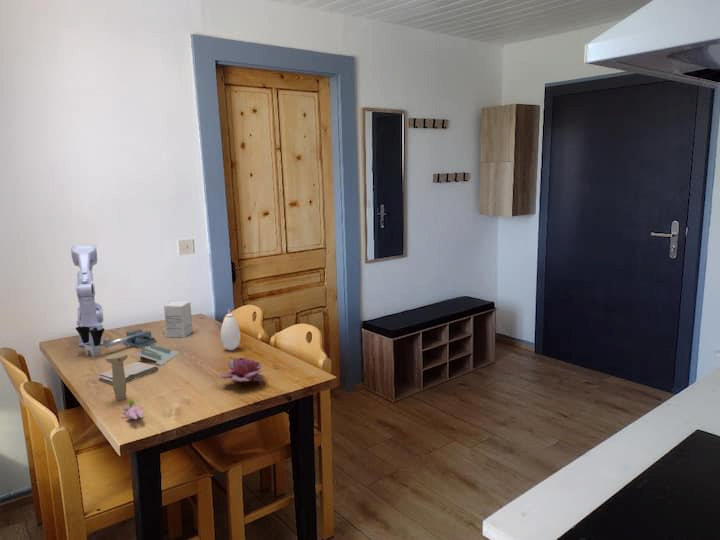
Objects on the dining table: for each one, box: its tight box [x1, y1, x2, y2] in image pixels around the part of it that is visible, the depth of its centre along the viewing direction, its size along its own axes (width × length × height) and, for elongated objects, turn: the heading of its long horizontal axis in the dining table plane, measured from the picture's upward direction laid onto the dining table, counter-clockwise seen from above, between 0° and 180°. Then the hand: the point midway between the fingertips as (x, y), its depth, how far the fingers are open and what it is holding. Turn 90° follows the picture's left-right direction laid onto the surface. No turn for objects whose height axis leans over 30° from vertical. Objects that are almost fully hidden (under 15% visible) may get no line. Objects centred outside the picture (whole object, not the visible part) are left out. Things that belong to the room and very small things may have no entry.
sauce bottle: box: [220, 310, 241, 351], centre depth 225 cm, size 8×8×18 cm
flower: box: [220, 356, 266, 385], centre depth 189 cm, size 15×15×10 cm
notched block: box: [84, 343, 101, 358], centre depth 223 cm, size 5×3×4 cm, turn 59°
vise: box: [102, 328, 157, 349], centre depth 230 cm, size 16×20×6 cm
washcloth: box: [98, 361, 159, 386], centre depth 200 cm, size 12×18×3 cm, turn 147°
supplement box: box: [163, 300, 194, 338], centre depth 248 cm, size 9×9×15 cm
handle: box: [105, 352, 128, 401], centre depth 178 cm, size 5×6×15 cm
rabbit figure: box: [120, 398, 145, 420], centre depth 164 cm, size 6×6×15 cm
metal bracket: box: [136, 344, 181, 366], centre depth 218 cm, size 14×6×15 cm
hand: (91, 344), depth 223 cm, fingers open, 7 cm apart
